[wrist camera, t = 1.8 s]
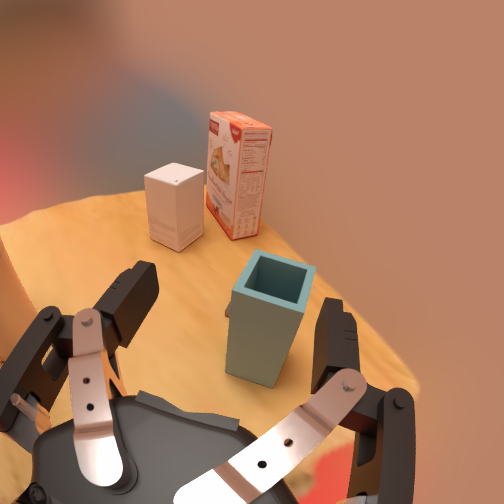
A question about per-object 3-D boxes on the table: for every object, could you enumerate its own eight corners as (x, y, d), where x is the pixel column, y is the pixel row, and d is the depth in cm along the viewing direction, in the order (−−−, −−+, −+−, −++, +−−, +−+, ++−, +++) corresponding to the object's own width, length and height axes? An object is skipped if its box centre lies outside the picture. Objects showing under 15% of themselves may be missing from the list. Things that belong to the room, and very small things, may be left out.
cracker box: (204, 206, 59) (209, 110, 46) (229, 202, 62) (238, 110, 49) (229, 242, 50) (239, 126, 37) (258, 236, 52) (275, 126, 39)
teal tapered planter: (272, 388, 29) (304, 313, 20) (225, 372, 30) (231, 289, 21) (285, 350, 33) (316, 267, 25) (242, 335, 34) (255, 248, 26)
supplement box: (204, 234, 51) (206, 170, 43) (178, 254, 46) (175, 185, 38) (175, 221, 53) (173, 161, 46) (148, 238, 48) (142, 174, 40)
